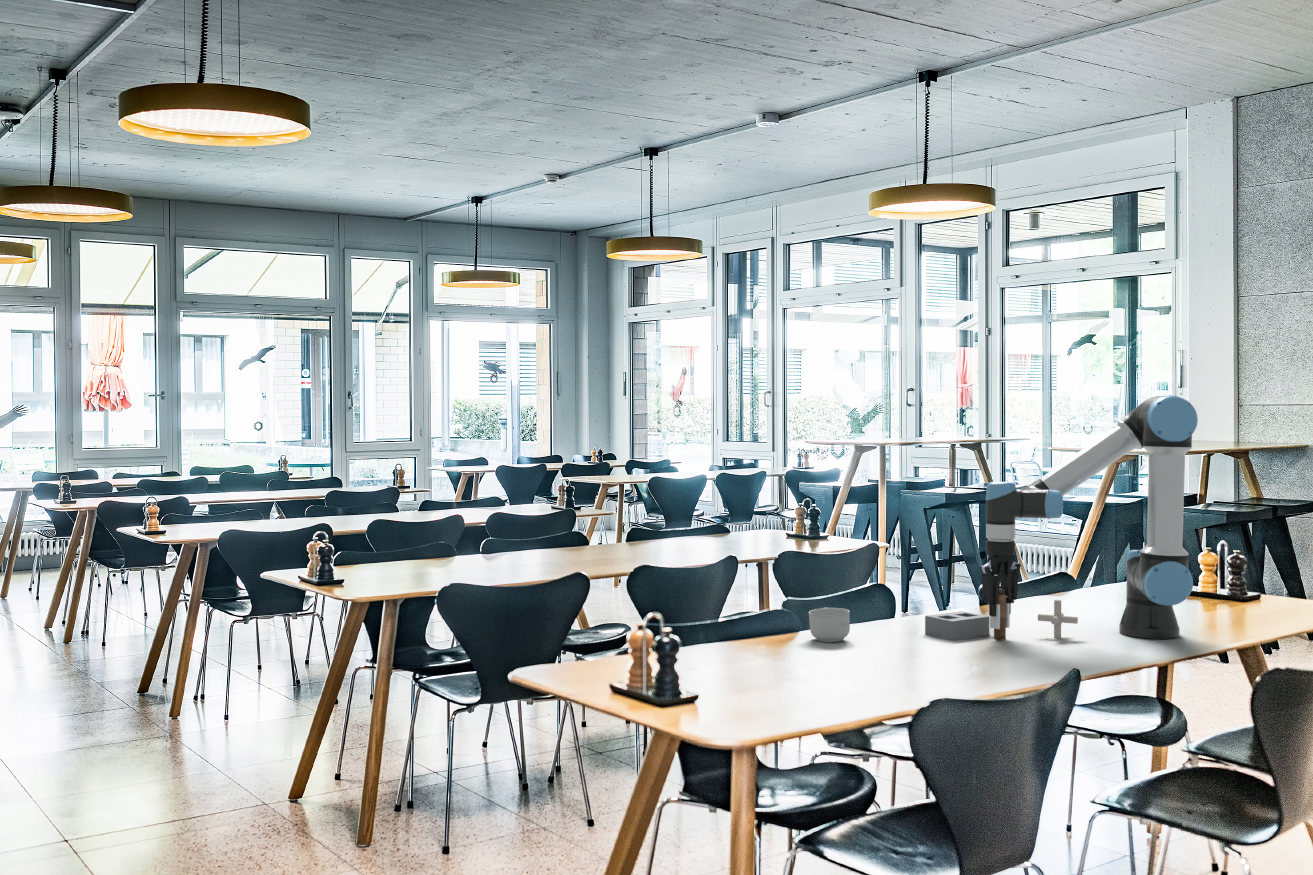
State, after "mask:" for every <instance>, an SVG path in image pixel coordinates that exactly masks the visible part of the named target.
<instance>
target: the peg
mask: <svg viewBox="0 0 1313 875" xmlns="http://www.w3.org/2000/svg"><path fill="white" fill-rule="evenodd" d="M998 604H1000V629H994V628H993V639H994V640H997V641H1005V640H1007V637H1006V636H1007V634H1006V632H1007V630H1006V629H1007V628H1006V594H1005V590H1004V589H1001V588H999V597H998Z"/></svg>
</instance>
